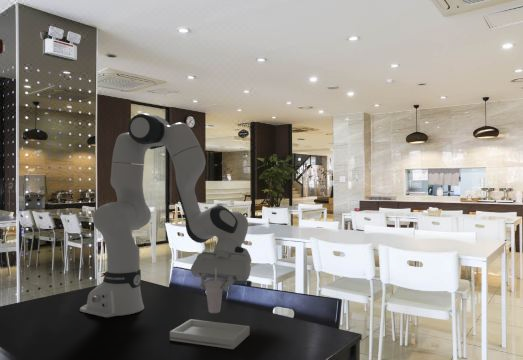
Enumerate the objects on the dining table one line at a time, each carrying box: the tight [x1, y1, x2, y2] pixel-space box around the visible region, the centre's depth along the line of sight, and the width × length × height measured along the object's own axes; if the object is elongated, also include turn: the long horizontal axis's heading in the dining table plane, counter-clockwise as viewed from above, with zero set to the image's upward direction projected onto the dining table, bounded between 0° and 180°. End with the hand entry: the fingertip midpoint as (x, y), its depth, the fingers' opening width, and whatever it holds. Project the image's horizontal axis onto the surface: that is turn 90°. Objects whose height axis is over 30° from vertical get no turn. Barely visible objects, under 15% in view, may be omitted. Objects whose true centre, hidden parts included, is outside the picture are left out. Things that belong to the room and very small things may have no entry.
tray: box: [169, 318, 251, 350], centre depth 123 cm, size 20×12×2 cm, turn 70°
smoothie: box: [204, 268, 225, 314], centre depth 135 cm, size 6×6×14 cm
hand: (213, 288), depth 134 cm, fingers closed on smoothie, 6 cm apart
